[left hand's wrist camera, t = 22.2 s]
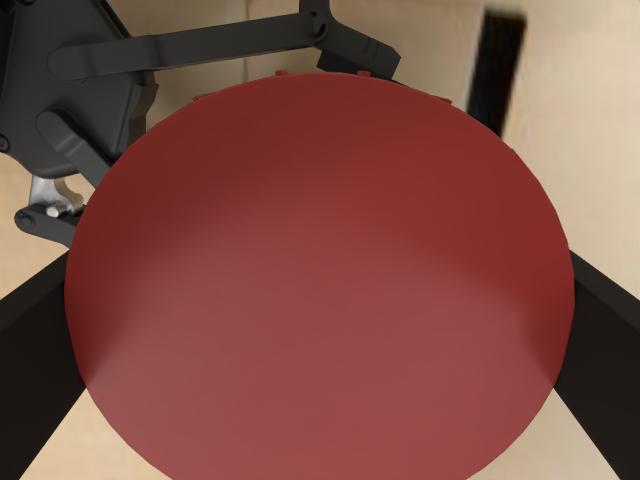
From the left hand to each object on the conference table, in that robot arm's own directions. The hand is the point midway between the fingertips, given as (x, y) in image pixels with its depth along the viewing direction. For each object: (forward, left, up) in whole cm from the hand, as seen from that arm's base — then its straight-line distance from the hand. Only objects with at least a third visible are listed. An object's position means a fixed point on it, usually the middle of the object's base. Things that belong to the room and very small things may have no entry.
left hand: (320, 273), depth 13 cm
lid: (0, 0, +3) cm, 3 cm away
